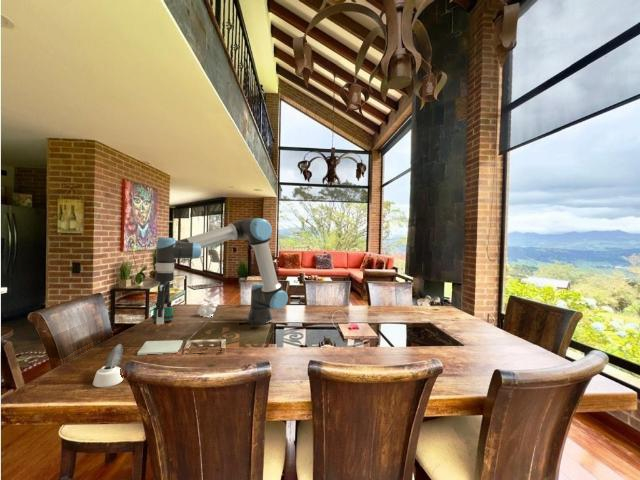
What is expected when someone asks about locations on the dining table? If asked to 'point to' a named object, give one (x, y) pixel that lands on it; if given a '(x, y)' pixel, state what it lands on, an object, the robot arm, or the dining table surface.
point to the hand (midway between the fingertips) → (162, 320)
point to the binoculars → (167, 315)
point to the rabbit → (207, 308)
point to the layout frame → (223, 341)
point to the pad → (160, 347)
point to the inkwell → (110, 369)
